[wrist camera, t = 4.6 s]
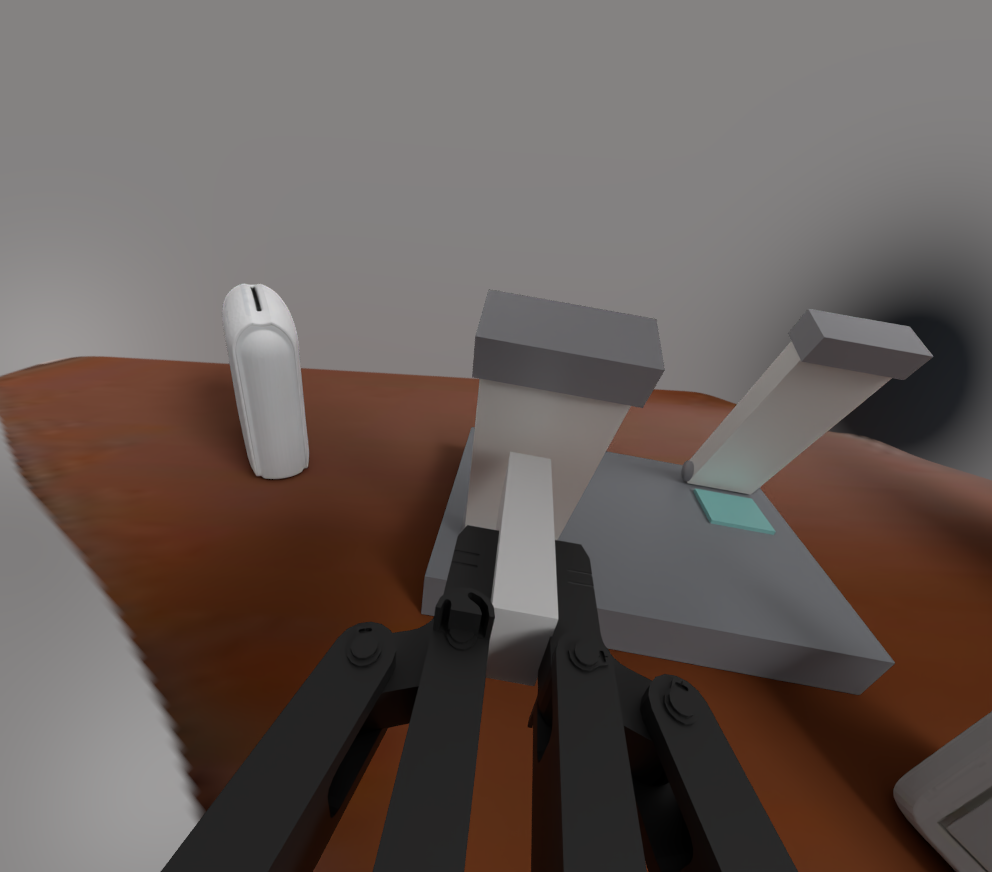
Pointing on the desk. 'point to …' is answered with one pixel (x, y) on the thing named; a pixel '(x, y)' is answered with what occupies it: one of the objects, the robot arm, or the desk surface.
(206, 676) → the desk surface
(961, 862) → the digital clock
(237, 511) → the desk surface
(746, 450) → the lever
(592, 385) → the lever
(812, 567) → the switch unit
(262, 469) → the photo printer
